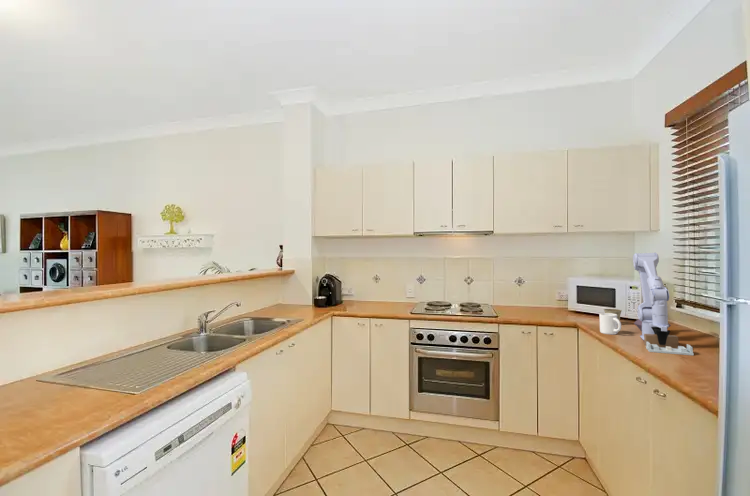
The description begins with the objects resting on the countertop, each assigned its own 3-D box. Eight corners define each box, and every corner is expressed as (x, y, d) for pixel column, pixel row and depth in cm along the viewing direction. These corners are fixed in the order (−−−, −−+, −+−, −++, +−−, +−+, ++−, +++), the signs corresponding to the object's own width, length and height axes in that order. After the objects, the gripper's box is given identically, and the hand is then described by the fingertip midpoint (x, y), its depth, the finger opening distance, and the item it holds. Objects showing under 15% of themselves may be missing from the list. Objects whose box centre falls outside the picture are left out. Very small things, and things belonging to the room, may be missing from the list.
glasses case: (644, 345, 170) (643, 333, 171) (675, 347, 166) (675, 335, 166) (646, 347, 167) (646, 335, 167) (678, 349, 162) (678, 337, 162)
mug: (627, 335, 189) (627, 316, 189) (614, 336, 188) (613, 317, 188) (609, 331, 201) (608, 312, 201) (596, 331, 199) (595, 313, 200)
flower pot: (601, 322, 224) (600, 308, 225) (618, 322, 223) (617, 308, 223) (608, 325, 215) (607, 311, 215) (625, 325, 213) (624, 311, 213)
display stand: (646, 347, 165) (645, 341, 165) (688, 351, 158) (688, 344, 158) (649, 351, 159) (649, 344, 159) (693, 355, 152) (693, 347, 152)
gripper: (645, 311, 175) (647, 339, 175) (652, 316, 162) (654, 346, 162) (664, 312, 172) (665, 340, 171) (672, 317, 159) (673, 348, 159)
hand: (661, 343), depth 166 cm, fingers open, 4 cm apart
